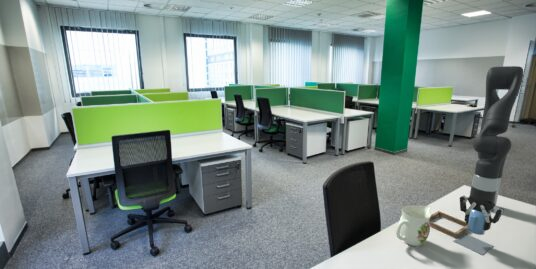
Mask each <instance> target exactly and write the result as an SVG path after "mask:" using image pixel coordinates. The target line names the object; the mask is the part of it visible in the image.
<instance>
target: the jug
mask: <svg viewBox="0 0 536 269" xmlns="http://www.w3.org/2000/svg"><path fill="white" fill-rule="evenodd" d="M488 213H489V212H487V214H488ZM485 222H486V220H485V217H484V213H483V212H480V211H478V210H475V209H471V211H470V215H469V221H468V226H467V229H468V231H467V232H470V233H471V234H475V235H478V236H481V235H485V232H486V231H485V230H484V225H485Z"/></svg>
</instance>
